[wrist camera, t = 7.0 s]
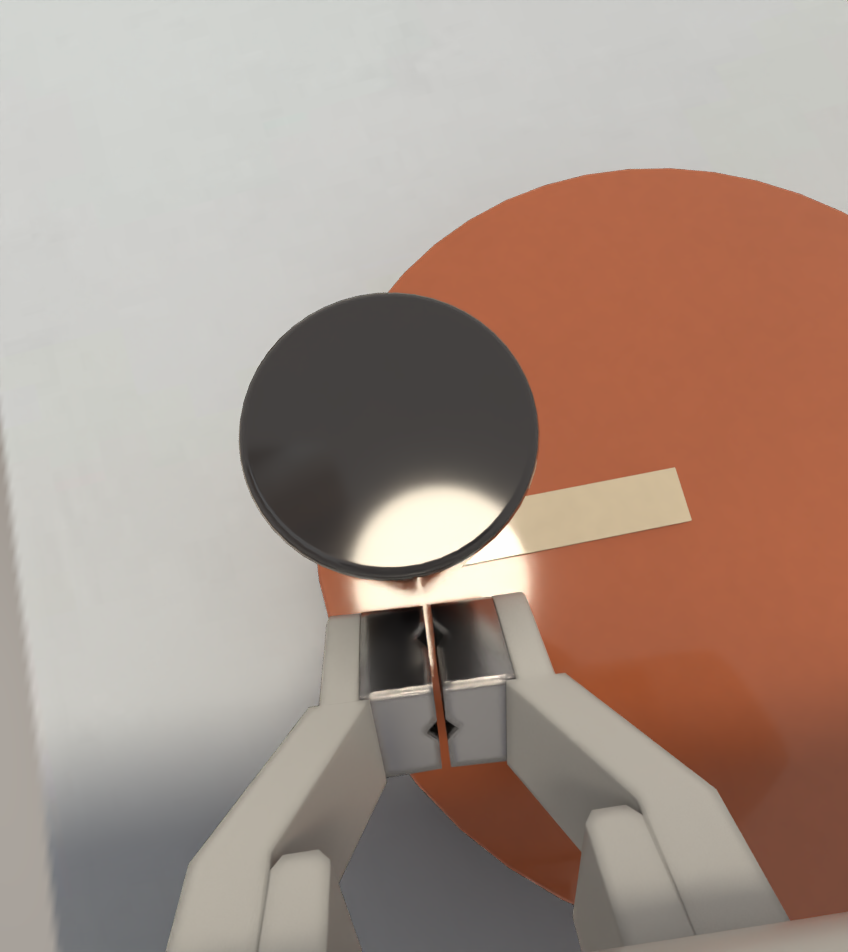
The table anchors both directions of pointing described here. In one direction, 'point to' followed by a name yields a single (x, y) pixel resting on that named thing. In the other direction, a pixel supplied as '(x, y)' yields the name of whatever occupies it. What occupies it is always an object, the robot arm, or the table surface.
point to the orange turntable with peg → (603, 484)
